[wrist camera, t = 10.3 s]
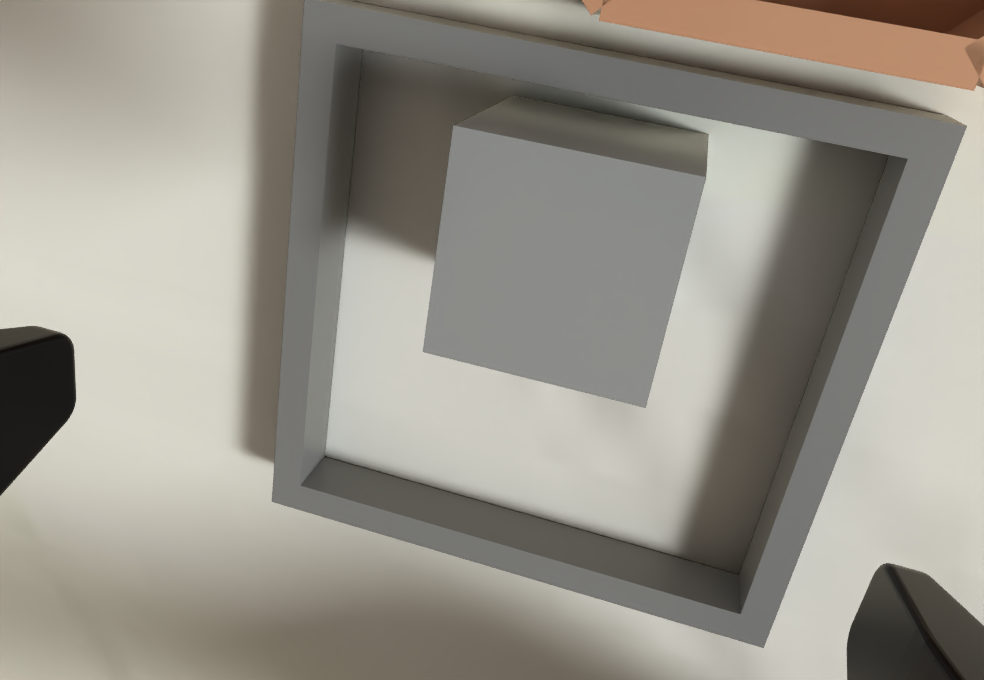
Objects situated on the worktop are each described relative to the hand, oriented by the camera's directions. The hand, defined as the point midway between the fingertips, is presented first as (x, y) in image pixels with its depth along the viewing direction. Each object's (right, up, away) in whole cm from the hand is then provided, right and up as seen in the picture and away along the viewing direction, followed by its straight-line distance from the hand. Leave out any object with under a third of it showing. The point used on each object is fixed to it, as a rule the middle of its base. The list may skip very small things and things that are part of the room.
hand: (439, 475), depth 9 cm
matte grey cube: (+3, +5, +11) cm, 12 cm away
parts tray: (+2, +2, +12) cm, 13 cm away
